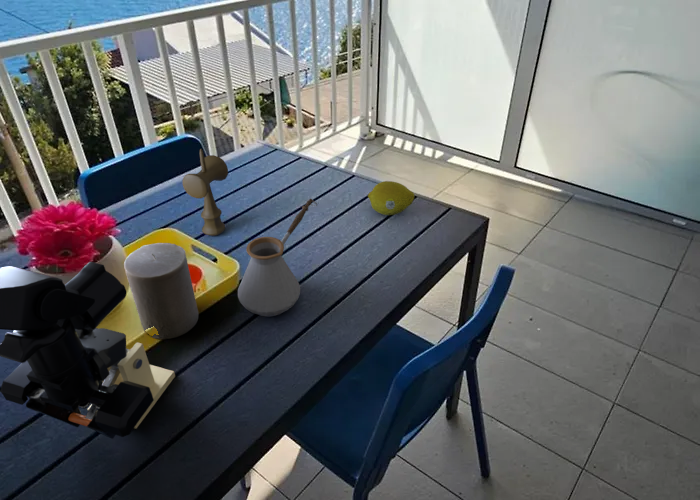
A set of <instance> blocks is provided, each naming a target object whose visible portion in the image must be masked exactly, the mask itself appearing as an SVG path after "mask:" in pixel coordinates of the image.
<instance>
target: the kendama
mask: <svg viewBox="0 0 700 500" xmlns="http://www.w3.org/2000/svg"><path fill="white" fill-rule="evenodd" d="M199 159H200V160H199V162H200V167H201V168H200V171H198V172H197V173H187V174H185V175H184V176H183V178H182V187H183V190H184V192H185V193H186V194H187V195H189V196H190V197H192V198H194V199H203V209H202V211H201V213H200V218H202V219H203V225H202V227H201V233H203V234H204V235H206V236H209V237H210V236H211V237H213V236H214V237H215V236H218V235H219V236H220V235H221V234H222V233H224V232H225V231H226V223H224V222H223V221H222V218H221V216H222V213H223V212H222V209H220V208H219V207H218V205H217V203H216V200H215V198H214V194H213V191H212V188H211V183H212V182H213V181H216V182H222V181H224V180H226V179H227V177H228V176H229V168H228V165H227V163H226V161H225V160H224V159H222V158H221V157H220V156H217V155H214V154H209V155H206V156H205V154H204V151H203V149H202V148H200V149H199Z"/></svg>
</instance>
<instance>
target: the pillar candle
mask: <svg viewBox="0 0 700 500" xmlns="http://www.w3.org/2000/svg"><path fill="white" fill-rule="evenodd" d="M123 266H124V272H125V275H126V278H127V281H128V285H129V287H130V292H131V294H132V298H133V301H134V304H135V308H136V311H137V314H138V317H139V321H140V325H141V327H142V329H143V331H144V332H145V330H146V329H148V328H151V327H153V326H154V327H155V328H156V329H157V331H158V334H159V335H156V334H154V335H153V336H152V337H151V338H152V339H153V338H154V339H158V340H170V339H175V338H179V337H180V336H183V335H185V334H186V333H188V332H189V331H191V330H192V329H193V328H194V327H195V326H196V325H197V323H198V320H199V309H198V304H197V300H196V295H195V291H194V287H193V282H192V278H191V273H190V272H191V271H190V268H189V264H188V258H187V254H186V250H185V249H184V248H183V247H182V246H180V245H177V244H175V243H170V242H157V243H151V244H144V245H142V246H140V248H139V247H138V248H137V249H135V250H133V251H132V252H131V253H129V255H128V256H127V257H126V258H125V260H124V263H123Z"/></svg>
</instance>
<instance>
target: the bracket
mask: <svg viewBox="0 0 700 500" xmlns="http://www.w3.org/2000/svg"><path fill="white" fill-rule="evenodd" d="M129 350H130V351H129V352H128V353H127V356H126V357H125V358H124V359H122V360H121V361H120V362H119V363H118V364H117V365H118V368H119V371H120V374H119V376H118V378H117V380H116V382H115V383H114V384H118V385H119V383H120V382H123V381H130V382H133V383H136V384H140V385H143V386H147V387H149V388H150V390H151V393H152V396H153V399H154V401H153V402H152V404H151V405H150V406H149V408H148V409H147V411H146V412H145V413H144V415H143V416H142V417H141V419H140V420H139V422H138V423H137V424H136V426H135V427H134V430H135V429H136V430H137V429H138V427H139V426H140V425H141V423H142V422H143V421H144V419H145V418H146V416H147V415H148V414H149V412H150V411H151V410H152V408H153V407H154V406H155V404H156V403H157V401H158V400H159V399H160V398H161V396H162V395H163V394H164V392H165V391H166V389H167V388H168V387H169V386H170V384H171V383H172V382H173V380H174V379H175V378H176V373H175V371H174V370H171V369H167V368H163V367H160V366H158V365H157V366H156V365H153V364H150V362H149V359H148V356H147V352H146V349H145V347H144V344H143V343H142V342H141V343H140V342H137V341H136V342H135V344H134V345H133V346H132V347H131V348H130V349H129ZM107 369H108V371H109V370H110V369H111V367H109V368H107ZM103 382H104V381H102V383H103ZM91 405H92V403H90V404H89V406H88V407H87V408H86V409H87V412H88V411H89V409H90V407H91Z"/></svg>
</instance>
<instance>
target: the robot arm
mask: <svg viewBox="0 0 700 500" xmlns="http://www.w3.org/2000/svg"><path fill="white" fill-rule="evenodd" d="M125 298H127V289H126V285H124V284H123V283H121V281H120V280H119V279H118V278H117V277H116V276H115V275H113V274H112V273H111V272H109V271H107V270H106V267H105V265H104V264H103V263H102V264H101V263H97V262H94V261H89V262H88V263H87V264H86V265H84V267H82V269H81V270H80V271H79V272H78V273H77V274H76V275H75V276H74V277H73V278H72V279H70V280H69V281H68V282H67V283H64V281H63V279H62V278H60V277H56V276H53V275H48V274H44V273H40V272H36V271H33V270H28V269H26V268H25V269H24V268H21V267H18V266H11V265H10V266H9V265H7V266H2V267H0V330H2V331H3V330H4V331H13V332H6V333H5V334H4V337H3V340H2V341H1V343H0V357H1V358H3V359H7V360H11V361H14V362H16V363H20V364H19V365H18V366H17V367H16V368H15V369H14V370H13V371H12V372H11V373H10V374H9V375H7V376H6V378H4V380H3V381H2V383H1V387H0V393H1V394H2V396H3V397H4V399H5V401H9V402H12V403H14V404H18V405H22V406H23V405H25V407H26V408H27V409H29V410H32V411H35V412H37V413H40V414H42V415H45V416H47V417H50V418H53V419H55V420H58V421H60V422H63V423H65V424H68V425H70V426H73V427H75V428H79V427H80V426H81V425H80V424H77V423H74V422H71V421H69V420H68V418H69V415H70V414H71V413H73V412H75V413H78V414H81V415H82V412H81V409H84V410H85V409H88V408H89V407H90V405H91V404H92V403H93V404H96V405H97V406H96V409H97V410H98V411H97V413H96V416H95V417H94V418H93V419H92V421H91V422H90V423H89V424H88V426H87V428H88V429H90V430H92V431H95V432H97V433H99V434H101V435H103V436H106V437H107V438H110V439H114V438H115V436H118V437H121V438H124V437H126V436H128V435H130V434H131V433H132V432H133V430H135V428H134V427H135V426H136V424H137V423H138V422H139V420H140V419H141V417H142V416H143V415H144V413H145V412H146V411H147V409H148V408H149V406H150V405H151V404H152V402H153V401H154V399H153V396H152V393H151V390H150V388H149V387H147V386H143V385H140V384H136V383H133V382H130V381H123V382H120V383H119V385H118V384H114V385H111V386H110V387H107V386H104V385H102V384H100V382H103V381H104V380H105V379H106V378H107V377H108V375H109V374H110V373H109V371H108V369H107V368H109V367H111V366H112V365H113V364H115V363H116V362H118V361H119V360H120V359H124V358H125V357H126V356H127V352H126V349H127V335H126V334H125V333H123V332H120V331H117V330H113V329H108V328H106V327H105V328H104V327H101V328H98V326H100V325H101V323H102V322H103V321H105V319H106V318H107V317H108V316H109V315H110V314H111V313H112V312H113V311H114V310H115V309H116V308H117V307H118V306H119V305H120V304H121V303H122V302H123V301H124V300H125ZM107 393H108V394H107Z"/></svg>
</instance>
